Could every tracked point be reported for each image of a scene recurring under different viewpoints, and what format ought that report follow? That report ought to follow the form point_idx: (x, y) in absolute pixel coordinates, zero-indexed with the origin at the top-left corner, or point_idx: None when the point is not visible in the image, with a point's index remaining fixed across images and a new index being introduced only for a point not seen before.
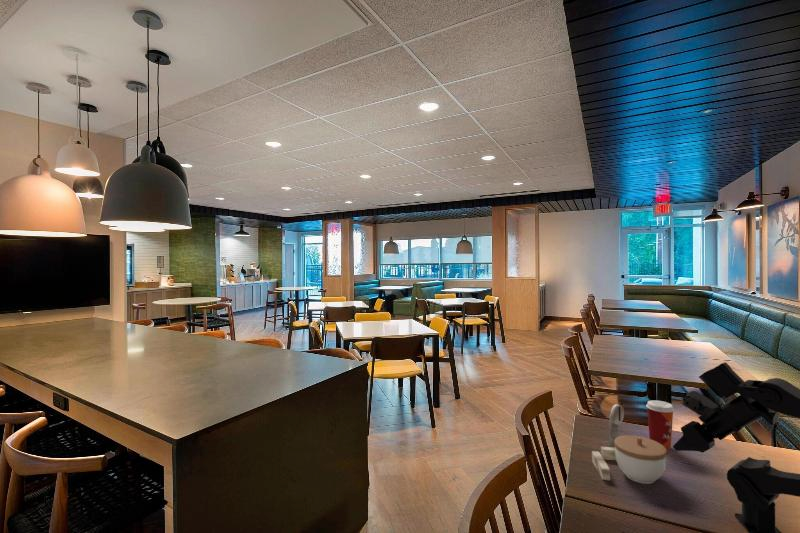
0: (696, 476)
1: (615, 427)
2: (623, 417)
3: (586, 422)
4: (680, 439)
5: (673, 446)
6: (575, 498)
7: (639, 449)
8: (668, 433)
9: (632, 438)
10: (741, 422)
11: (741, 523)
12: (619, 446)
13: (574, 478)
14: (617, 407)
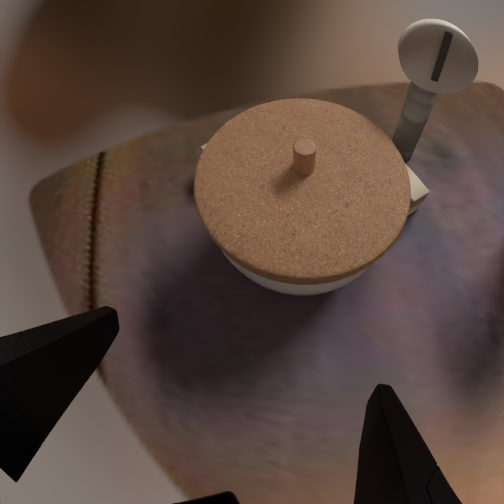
0: (431, 377)
1: (416, 92)
2: (465, 86)
3: (485, 91)
4: (14, 337)
5: (102, 309)
6: (98, 160)
7: (240, 178)
8: None
9: (346, 136)
10: None
11: (192, 500)
12: (227, 122)
13: (177, 126)
14: (435, 28)
